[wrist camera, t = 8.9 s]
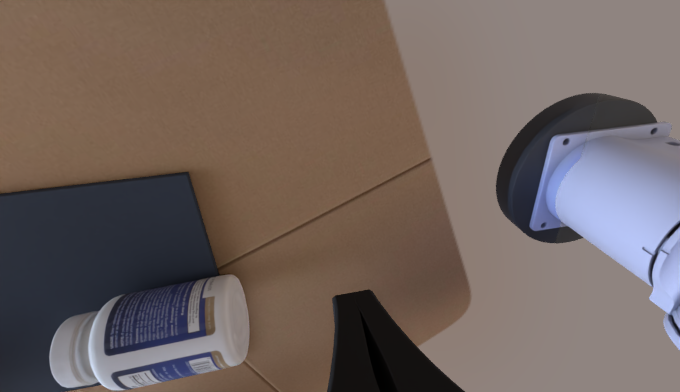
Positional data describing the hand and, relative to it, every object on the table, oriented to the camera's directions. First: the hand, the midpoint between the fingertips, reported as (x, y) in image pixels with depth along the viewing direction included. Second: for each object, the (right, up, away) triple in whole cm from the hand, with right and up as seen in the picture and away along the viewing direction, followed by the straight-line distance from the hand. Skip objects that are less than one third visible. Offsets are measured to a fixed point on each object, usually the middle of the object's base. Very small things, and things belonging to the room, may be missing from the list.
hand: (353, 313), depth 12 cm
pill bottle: (-6, -3, +9) cm, 11 cm away
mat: (-19, -3, +10) cm, 21 cm away
